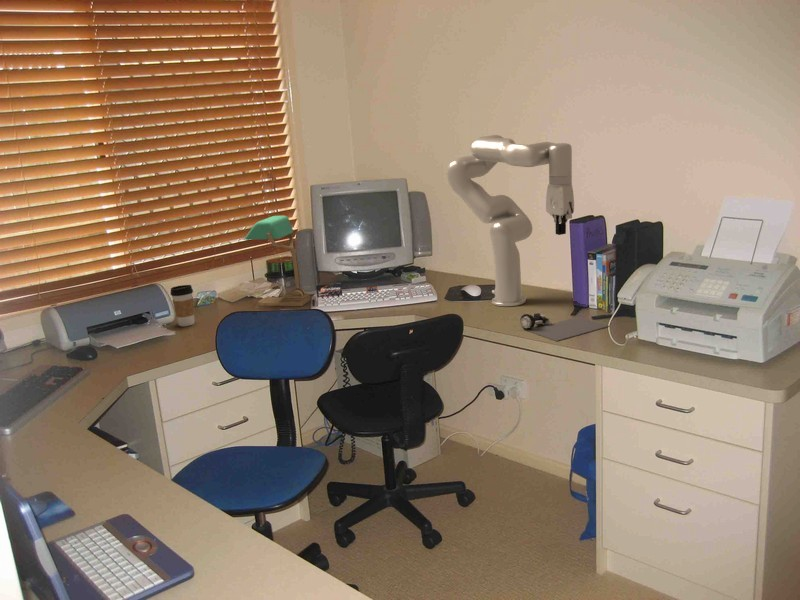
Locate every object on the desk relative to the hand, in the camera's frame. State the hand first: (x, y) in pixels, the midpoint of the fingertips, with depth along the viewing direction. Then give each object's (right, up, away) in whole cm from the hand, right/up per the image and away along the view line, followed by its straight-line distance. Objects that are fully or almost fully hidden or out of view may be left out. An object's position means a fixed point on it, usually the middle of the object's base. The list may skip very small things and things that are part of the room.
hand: (560, 233), depth 268 cm
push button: (-6, -29, -5) cm, 30 cm away
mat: (0, -32, -12) cm, 35 cm away
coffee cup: (-137, -32, +32) cm, 145 cm away
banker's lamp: (-103, -24, +51) cm, 118 cm away
